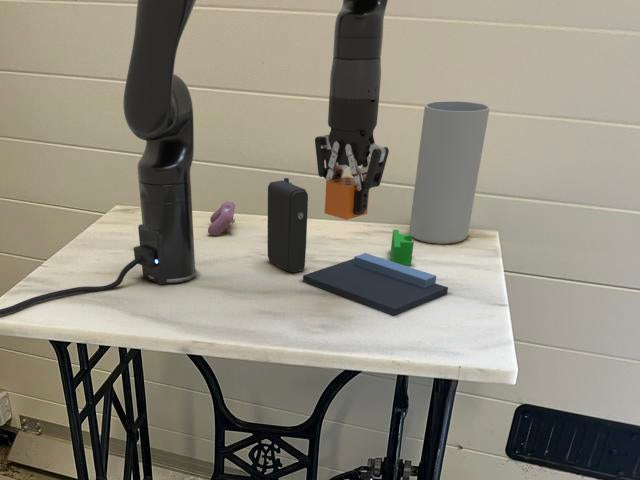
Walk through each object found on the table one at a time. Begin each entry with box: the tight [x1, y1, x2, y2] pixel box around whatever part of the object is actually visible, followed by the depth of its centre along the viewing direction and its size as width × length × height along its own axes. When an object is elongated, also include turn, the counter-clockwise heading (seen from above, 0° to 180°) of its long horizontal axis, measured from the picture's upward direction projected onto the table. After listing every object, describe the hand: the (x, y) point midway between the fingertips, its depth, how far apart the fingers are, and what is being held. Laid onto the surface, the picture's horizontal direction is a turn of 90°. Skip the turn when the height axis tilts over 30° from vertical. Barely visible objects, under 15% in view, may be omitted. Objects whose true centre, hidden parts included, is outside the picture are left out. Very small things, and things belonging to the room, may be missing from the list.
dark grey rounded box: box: [267, 180, 309, 273], centre depth 139 cm, size 9×4×15 cm, turn 31°
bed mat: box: [302, 252, 449, 316], centre depth 133 cm, size 15×22×3 cm
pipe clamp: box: [390, 229, 414, 267], centre depth 145 cm, size 11×4×5 cm, turn 173°
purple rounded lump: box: [207, 200, 236, 236], centre depth 161 cm, size 10×5×7 cm, turn 179°
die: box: [324, 176, 370, 221], centre depth 119 cm, size 5×5×5 cm
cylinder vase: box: [408, 100, 491, 245], centre depth 151 cm, size 12×12×25 cm
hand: (346, 209), depth 120 cm, fingers closed on die, 5 cm apart
